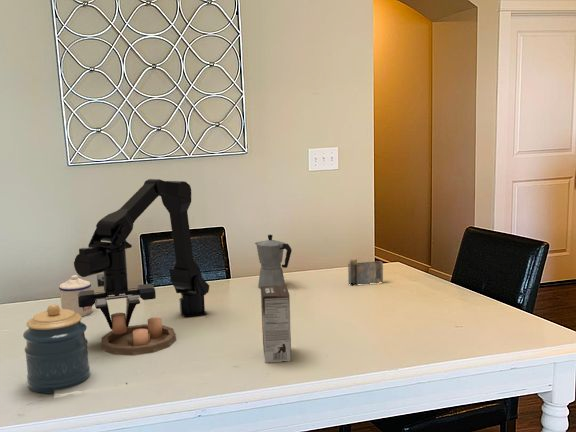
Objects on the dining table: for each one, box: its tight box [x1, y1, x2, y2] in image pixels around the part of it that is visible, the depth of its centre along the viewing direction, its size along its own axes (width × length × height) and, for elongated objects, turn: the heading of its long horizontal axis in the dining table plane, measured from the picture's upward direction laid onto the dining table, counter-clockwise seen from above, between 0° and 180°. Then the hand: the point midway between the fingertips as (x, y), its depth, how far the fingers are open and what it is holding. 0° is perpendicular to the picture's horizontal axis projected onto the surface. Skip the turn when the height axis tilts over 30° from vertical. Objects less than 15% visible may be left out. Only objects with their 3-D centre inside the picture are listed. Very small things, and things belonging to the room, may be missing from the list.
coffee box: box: [260, 284, 292, 364], centre depth 150 cm, size 9×6×16 cm
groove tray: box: [101, 323, 177, 356], centre depth 160 cm, size 18×18×3 cm
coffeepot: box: [254, 234, 293, 290], centre depth 212 cm, size 15×9×18 cm, turn 51°
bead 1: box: [110, 312, 127, 334], centre depth 161 cm, size 4×4×4 cm
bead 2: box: [133, 329, 149, 346], centre depth 155 cm, size 4×4×4 cm
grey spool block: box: [347, 258, 384, 286], centre depth 213 cm, size 11×3×10 cm, turn 99°
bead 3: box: [146, 316, 163, 338], centre depth 164 cm, size 4×4×4 cm
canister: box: [22, 303, 91, 394], centre depth 137 cm, size 13×13×18 cm
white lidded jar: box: [58, 274, 93, 317], centre depth 190 cm, size 12×9×12 cm
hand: (119, 327), depth 161 cm, fingers closed on bead 1, 4 cm apart
